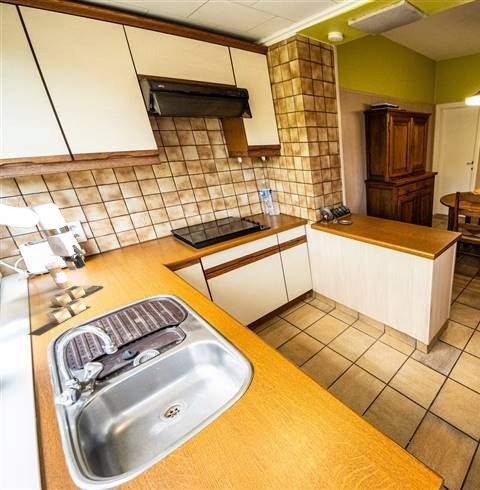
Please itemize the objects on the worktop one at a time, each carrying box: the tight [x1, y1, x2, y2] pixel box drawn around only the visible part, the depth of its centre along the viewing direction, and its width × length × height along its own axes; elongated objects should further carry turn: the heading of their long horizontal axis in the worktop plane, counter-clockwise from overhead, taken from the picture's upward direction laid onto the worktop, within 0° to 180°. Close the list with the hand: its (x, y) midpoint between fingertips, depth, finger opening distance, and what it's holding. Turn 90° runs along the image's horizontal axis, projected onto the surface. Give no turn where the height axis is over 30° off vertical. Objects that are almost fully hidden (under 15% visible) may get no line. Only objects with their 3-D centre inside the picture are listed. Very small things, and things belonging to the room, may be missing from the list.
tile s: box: [64, 259, 87, 271], centre depth 124 cm, size 4×4×4 cm
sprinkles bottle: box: [44, 261, 71, 290], centre depth 133 cm, size 5×5×14 cm
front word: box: [27, 299, 91, 337], centre depth 108 cm, size 18×6×6 cm, turn 171°
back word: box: [48, 285, 104, 309], centre depth 125 cm, size 18×6×6 cm, turn 171°
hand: (77, 266), depth 125 cm, fingers closed on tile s, 4 cm apart
